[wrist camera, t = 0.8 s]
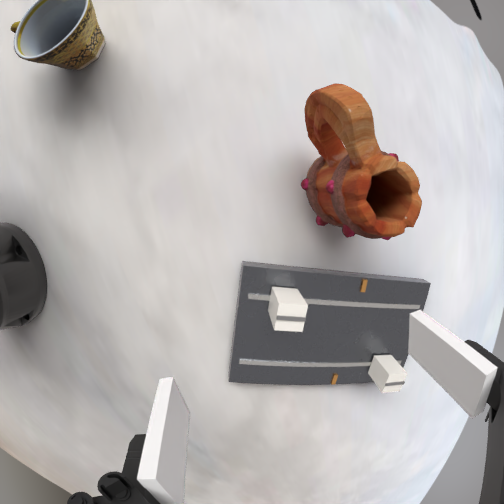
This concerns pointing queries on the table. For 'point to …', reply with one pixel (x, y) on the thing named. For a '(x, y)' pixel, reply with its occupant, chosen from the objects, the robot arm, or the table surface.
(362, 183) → the mug
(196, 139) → the table surface
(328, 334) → the console
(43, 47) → the ceramic cup
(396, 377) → the fader far
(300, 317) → the fader near
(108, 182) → the table surface
